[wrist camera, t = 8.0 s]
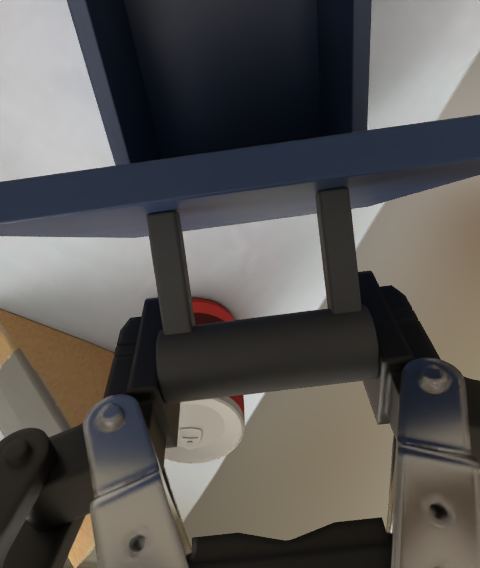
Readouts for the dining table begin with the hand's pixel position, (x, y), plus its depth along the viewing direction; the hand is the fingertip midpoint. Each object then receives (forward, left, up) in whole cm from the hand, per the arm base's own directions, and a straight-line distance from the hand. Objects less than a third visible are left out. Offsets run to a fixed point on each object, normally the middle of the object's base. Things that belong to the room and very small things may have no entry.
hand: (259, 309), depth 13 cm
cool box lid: (-2, 0, -5) cm, 5 cm away
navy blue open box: (-5, 0, -21) cm, 21 cm away
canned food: (+18, -6, -21) cm, 28 cm away
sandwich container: (+20, -20, -21) cm, 35 cm away
